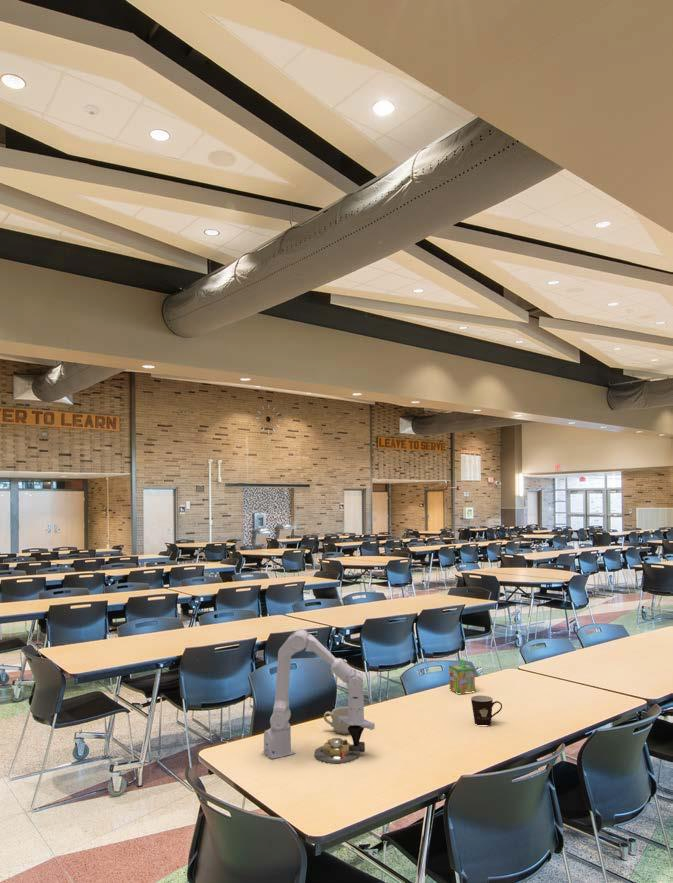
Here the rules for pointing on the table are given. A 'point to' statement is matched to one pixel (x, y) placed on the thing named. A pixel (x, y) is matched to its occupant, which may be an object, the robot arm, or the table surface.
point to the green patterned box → (462, 678)
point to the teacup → (335, 715)
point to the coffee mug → (483, 709)
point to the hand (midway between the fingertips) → (356, 746)
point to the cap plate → (336, 759)
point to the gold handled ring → (342, 748)
